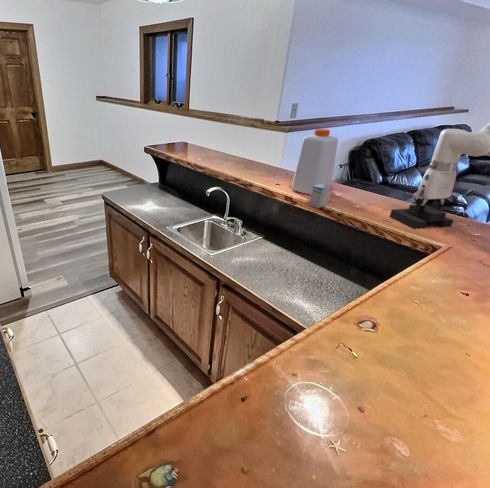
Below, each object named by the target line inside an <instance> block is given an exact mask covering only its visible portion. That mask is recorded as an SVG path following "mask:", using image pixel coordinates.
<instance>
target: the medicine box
mask: <svg viewBox="0 0 490 488" xmlns="http://www.w3.org/2000/svg"><path fill="white" fill-rule="evenodd" d="M332 189H333V185H332V184H331V185H329V184H325V183H322V184H319V185H316V186H314V187H313V190H312V195H310V200H309V206H310V207H313V208H316V209H320V208H323V207H324V206H325V207H326V206H327V205H329V202H330V198H331V193H332Z"/></svg>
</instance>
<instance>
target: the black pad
mask: <svg viewBox="0 0 490 488" xmlns="http://www.w3.org/2000/svg"><path fill="white" fill-rule="evenodd" d="M416 205H417V204H416V203H414V204H409V207H408V208H407V209H408V212H409V213H411V214H413V215H415V216H418V215H416V214H414V211H415V208H416ZM424 206H425V209H424V211H423V214H422V216H418V218H419V217H420V219H422V220H424V221H426V220H427V221H426V222H428V221H429V222H428V223H430V222H433V221H444V219H445V217H447V216H446V215H447V212H445V211H443V210H441V209H440V210H438V209H435V208H433V207H431V206H430V205H427V204H425V205H424Z"/></svg>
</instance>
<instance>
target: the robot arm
mask: <svg viewBox="0 0 490 488" xmlns="http://www.w3.org/2000/svg"><path fill="white" fill-rule="evenodd" d="M489 153H490V122H488V123H487V124H486V125H485V126H484V127H482V128H481V129H479V130H478V131H474V132H473V131H471V132H470V131H468V130H466V129H460V128H445V129H442V130H441V131H440V134H439V137H438V139H437V142H436V145H435V148H434V151H433V153H432V154H433V155H432V156H431V157H432V158H431V160H430V163H429V164H428V168H427V169H426V171H425V173H424V175H423V177H422V178H421V181H420V183H419V186H418V189H417V190H416V191H415V192H414V193H413V194H412V198H413V199H414V202H415V204H417V205H416V208H415V211H414V214H416V215H418V216H422V214H423V211H424V209H425V206H424V205H426V203H427V202H428V201H429V200H434V201H433V202H432V204H431V206H430V207H433V208H435V209H438V210H440V211H441V208H442V206H443V205H445V202H446V201H447V200H448V199H449V198H450V197H451V196H453V190H454V186H455V183H456V179H457V170H456V169H457V166H458V164H459V161H460V158H461V156H462V155H466V156H471V157H481V156H482V157H483V156H485V155H487V154H489Z"/></svg>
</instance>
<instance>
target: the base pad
mask: <svg viewBox="0 0 490 488" xmlns="http://www.w3.org/2000/svg"><path fill="white" fill-rule="evenodd" d="M408 209H409V208H396V209H395V208H393V209H391V210H390V214H389V217H390V218H392V219H394V220H395V221H398V222H399V223H402V224H403V225H405V226H407V227H409V228H411V229H413V230H423V229H425V228H426V226H427V223H430V224H432V225H435V226H437V227H439V228H451V227H452V226H453V223H454V219H452V218H450V217H447V216H445V219H444V221H433V222H429V221H427V220H424V219H422V218H420V217H418V216H415V215H413V214H411V213H409V212H408Z"/></svg>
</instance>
